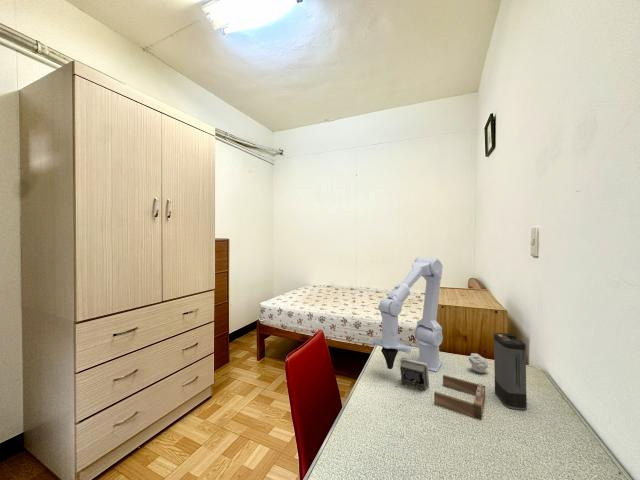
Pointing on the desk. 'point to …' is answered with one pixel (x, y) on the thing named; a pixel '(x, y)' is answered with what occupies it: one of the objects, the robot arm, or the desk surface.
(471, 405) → the socket dock
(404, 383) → the electrical switch
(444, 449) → the desk surface
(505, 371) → the electronic device
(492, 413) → the desk surface
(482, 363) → the grey rounded carved piece
